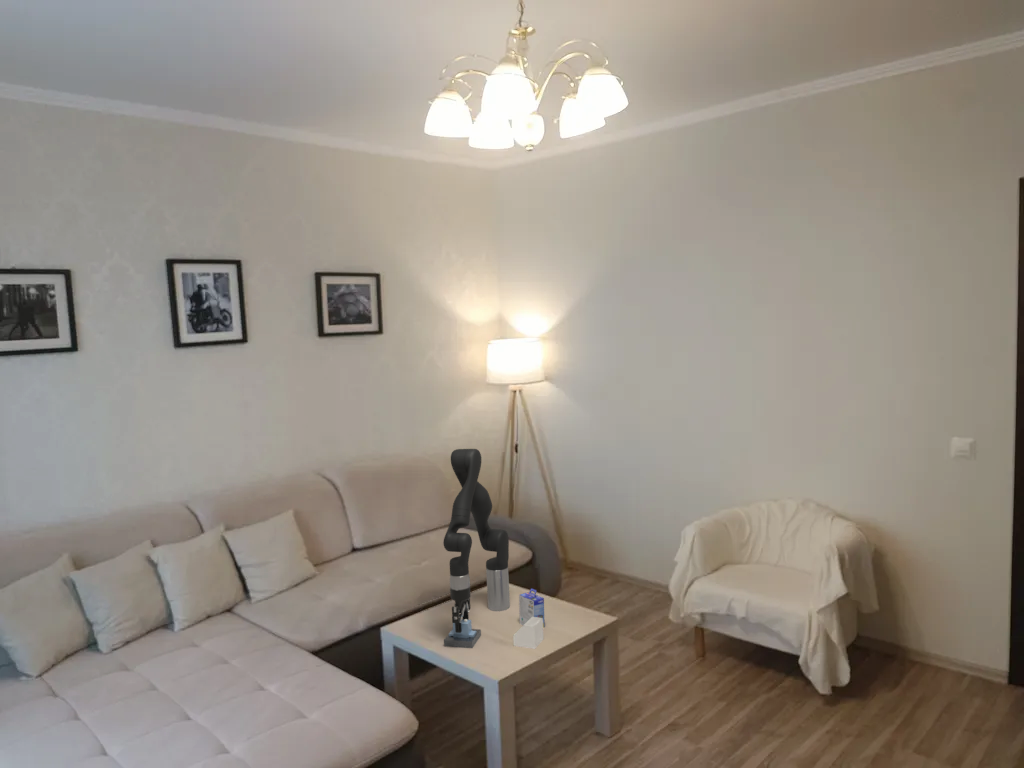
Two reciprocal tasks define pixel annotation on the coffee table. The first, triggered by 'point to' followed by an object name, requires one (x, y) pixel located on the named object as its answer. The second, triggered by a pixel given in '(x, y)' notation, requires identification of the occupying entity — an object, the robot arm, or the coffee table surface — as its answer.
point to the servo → (463, 630)
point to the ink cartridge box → (530, 606)
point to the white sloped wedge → (529, 633)
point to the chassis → (462, 640)
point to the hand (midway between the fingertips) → (462, 627)
